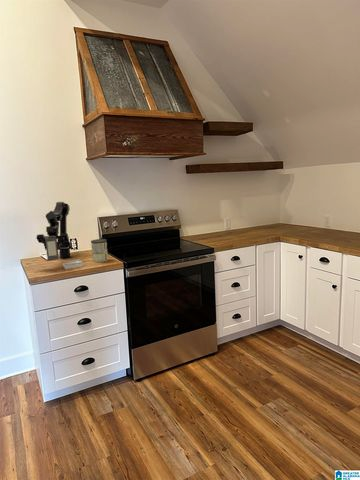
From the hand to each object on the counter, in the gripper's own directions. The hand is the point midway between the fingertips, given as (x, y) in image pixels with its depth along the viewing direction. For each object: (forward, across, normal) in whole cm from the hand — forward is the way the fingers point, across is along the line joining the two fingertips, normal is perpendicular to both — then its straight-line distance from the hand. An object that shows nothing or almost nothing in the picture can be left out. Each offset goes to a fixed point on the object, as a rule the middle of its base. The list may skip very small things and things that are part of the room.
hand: (51, 249), depth 219 cm
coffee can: (-2, +27, +22) cm, 35 cm away
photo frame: (+4, 0, +6) cm, 7 cm away
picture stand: (+5, +10, +14) cm, 18 cm away
